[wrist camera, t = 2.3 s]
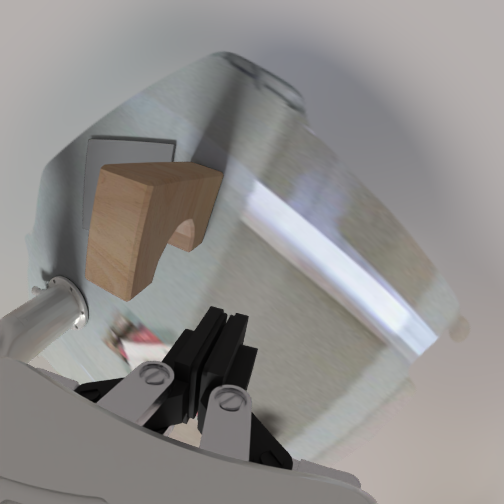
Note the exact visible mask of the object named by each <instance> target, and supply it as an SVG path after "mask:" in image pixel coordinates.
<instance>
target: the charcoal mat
mask: <svg viewBox="0 0 504 504" xmlns="http://www.w3.org/2000/svg"><path fill="white" fill-rule="evenodd" d="M174 151H175V145H174V144H163V143H152V142H139V141H124V140H101V139H89V141H88V149H87V157H86V167H85V179H84V195H83V229H85V230H90V222H91V216H92V210H93V204H94V198H95V193H96V188H97V183H98V178H99V173H100V169H101V167H102V166H103V165H105V164H120V163H144V162H173V158H174Z"/></svg>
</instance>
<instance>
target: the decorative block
mask: <svg viewBox="0 0 504 504" xmlns="http://www.w3.org/2000/svg"><path fill="white" fill-rule="evenodd" d="M223 176H224V175H223V173H222V172H220V171H217V170H214V169H211V168H208V167H205V166H202V165H199V164H196V163H193V162H144V163H120V164H105V165H103V166H102V167H101V169H100V173H99V178H98V183H97V188H96V193H95V198H94V204H93V210H92V216H91V222H90V230H89V238H88V247H87V257H86V269H85V278H86V279H87V280H89V281H90V282H92V283H94V284H96V285H97V286H99V287H101V288H103V289H104V290H106V291H108V292H110V293H111V294H113V295H115V296H117V297H119V298H121V299H122V300H124V301H126V302H127V301H130V300H131V299H132V298H134V297H135V296H136V295H137V294H138V293H140V292H141V291H142V290H143V289H144V288H146V287H147V286H148V285H149V284H151V283H152V280H153V277H154V273H155V270H156V267H157V264H158V261H159V259H160V257H161V255H162V253H163V251H164V249H165V247H166V245H167V243H168V244H171V245H173V246H175V247H178V248H180V249H182V250H185V251H187V252H190V251H192V250H193V249H194V248H196V247H197V246H198V245H199V244H201V243H202V240H203V237H204V234H205V231H206V228H207V224H208V221H209V218H210V215H211V212H212V209H213V206H214V203H215V200H216V197H217V194H218V191H219V188H220V185H221V182H222V179H223Z"/></svg>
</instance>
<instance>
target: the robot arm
mask: <svg viewBox="0 0 504 504" xmlns="http://www.w3.org/2000/svg"><path fill="white" fill-rule="evenodd" d="M32 293H33V294H34V295H36V297H34V298H33V299H31V300H29V301H28V302H26V303H25V304H23V305H21V306H20V307H19V308H17V309H15V310H13V311H12V312H10V313H9V314H7V315H5V316H4V317H3V318H2V319H1V320H0V504H378V503H377V501H376V500H375V499H374V498H373V497H372V496H371V495H370V494H368V493H367V492H365V491H363V490H362V489H361V484H360V482H359V480H358V479H357V478H356V477H355V476H354V475H352V474H350V473H347V472H343V471H339V470H335V469H332V468H328V467H325V466H322V465H318V464H315V463H312V462H309V461H306V460H303V459H301V461H298V460H295V459H292V457H291V456H290V454H289V453H288V452H287V451H286V450H285V449H284V448H283V447H282V445H281V444H280V443H279V442H278V441H277V440H276V439H275V438H274V437H273V436H272V435H271V433H270V432H269V431H268V430H267V429H266V428H265V427H264V426H263V424H262V423H261V422H260V421H259V420H258V419H257V417H256V416H255V415H254V414H253V413H252V412H251V411H252V400H251V397H250V395H249V393H248V392H247V391H246V390H247V387H248V384H249V380H250V377H251V373H252V370H253V366H254V362H255V358H256V354H257V350H258V349H257V348H253V347H249V346H245V345H243V342H244V337H245V332H246V327H247V323H248V317H249V316H247V315H243V314H239V313H236V314H235V316H233V315H230V317H229V319H228V321H227V314H226V313H224V310H223V309H220V308H216V307H213V306H211V307H210V308H209V310H208V311H207V313H206V314H205V316H204V317H203V319H202V320H201V322H200V323H199V325H198V326H197V328H196V329H195V331H192V330H189V329H185V330H184V331H183V333H182V334H181V336H180V337H179V338H178V340H177V341H176V342H175V344H174V345H173V347H172V348H171V349H170V351H169V352H168V354H167V355H166V356H165V358H164V359H163V361H162V362H159V361H147V362H144V363H142V364H140V365H139V366H138V367H137V368H135V369H134V370H133V371H132V372H131V373H130V374H129V375H127V376H126V377H124V378H118V379H112V380H105V381H98V382H90V383H85V384H81V385H79V384H78V382H77V381H74V380H71V379H68V378H66V377H63V376H60V375H57V374H55V373H52V372H49V371H47V370H44V369H40V368H34V367H33V366H31V365H29V364H28V363H29V362H30V361H31V360H32V359H33V358H34V357H36V356H37V355H38V354H39V353H41V352H42V351H43V350H44V349H45V348H47V347H48V346H49V345H50V344H52V343H53V342H54V341H55V340H56V339H58V338H59V337H60V336H61V335H63V334H64V333H65V332H66V331H68V330H69V329H72V330H80V329H82V328H83V327H84V326H85V325H86V324H87V321H88V310H87V306H86V303H85V300H84V298H83V296H82V294H81V293H80V291H79V290H78V288H77V287H76V286H75V285H74V284H73V283H72V282H71V281H70V280H69V279H67V278H65V277H62V276H56V277H54V278H53V279H51V280H50V281H49V284H48V288H47V289H42V290H41V289H40V288H38V287H36V286H34V287H33V288H32ZM226 321H227V323H226ZM197 412H198V418H197V420H198V427H197V428H198V430H199V431H200V433H201V434H202V437H201V441H200V446H199V448H198V447H195V446H192V445H189V444H186V443H183V442H180V441H177V440H175V439H172V438H169V437H168V436H169V434H170V433H171V432H172V430H173V428H174V425H176V424H180V423H185V424H187V422H188V420H189V418H192V419H194V418H195V416H196V414H197Z"/></svg>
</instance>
